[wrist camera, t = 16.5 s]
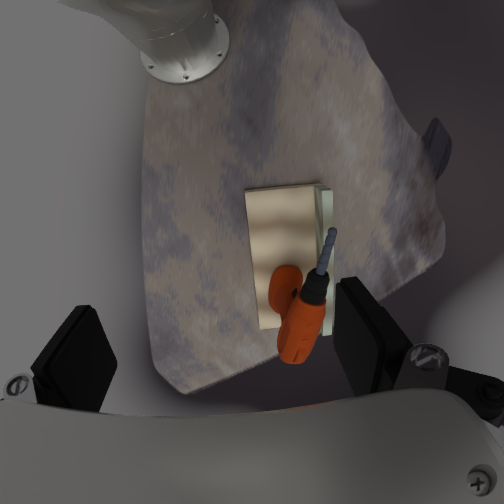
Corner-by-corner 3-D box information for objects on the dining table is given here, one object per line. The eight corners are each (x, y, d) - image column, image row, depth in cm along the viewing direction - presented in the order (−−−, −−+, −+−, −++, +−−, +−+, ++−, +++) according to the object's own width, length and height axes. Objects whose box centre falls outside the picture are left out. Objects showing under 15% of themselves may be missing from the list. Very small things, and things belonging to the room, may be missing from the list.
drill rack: (244, 190, 41) (245, 198, 35) (320, 183, 41) (333, 190, 35) (259, 322, 49) (262, 344, 43) (323, 313, 49) (332, 334, 43)
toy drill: (324, 193, 38) (367, 245, 25) (293, 306, 47) (310, 380, 34) (289, 187, 38) (316, 237, 24) (263, 303, 46) (272, 379, 33)
